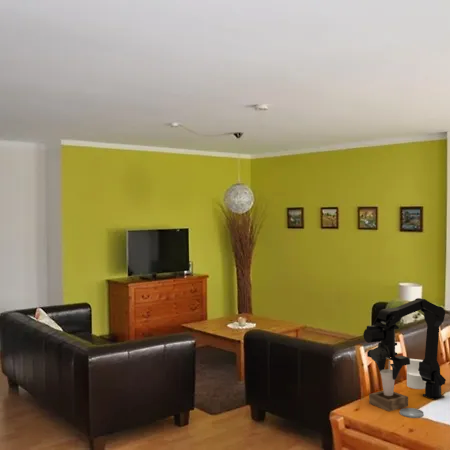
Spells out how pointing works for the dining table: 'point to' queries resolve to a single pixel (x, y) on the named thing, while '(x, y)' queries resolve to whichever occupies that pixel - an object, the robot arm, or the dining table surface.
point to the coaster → (411, 412)
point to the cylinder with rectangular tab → (414, 375)
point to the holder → (388, 401)
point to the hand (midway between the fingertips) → (388, 377)
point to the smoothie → (387, 381)
